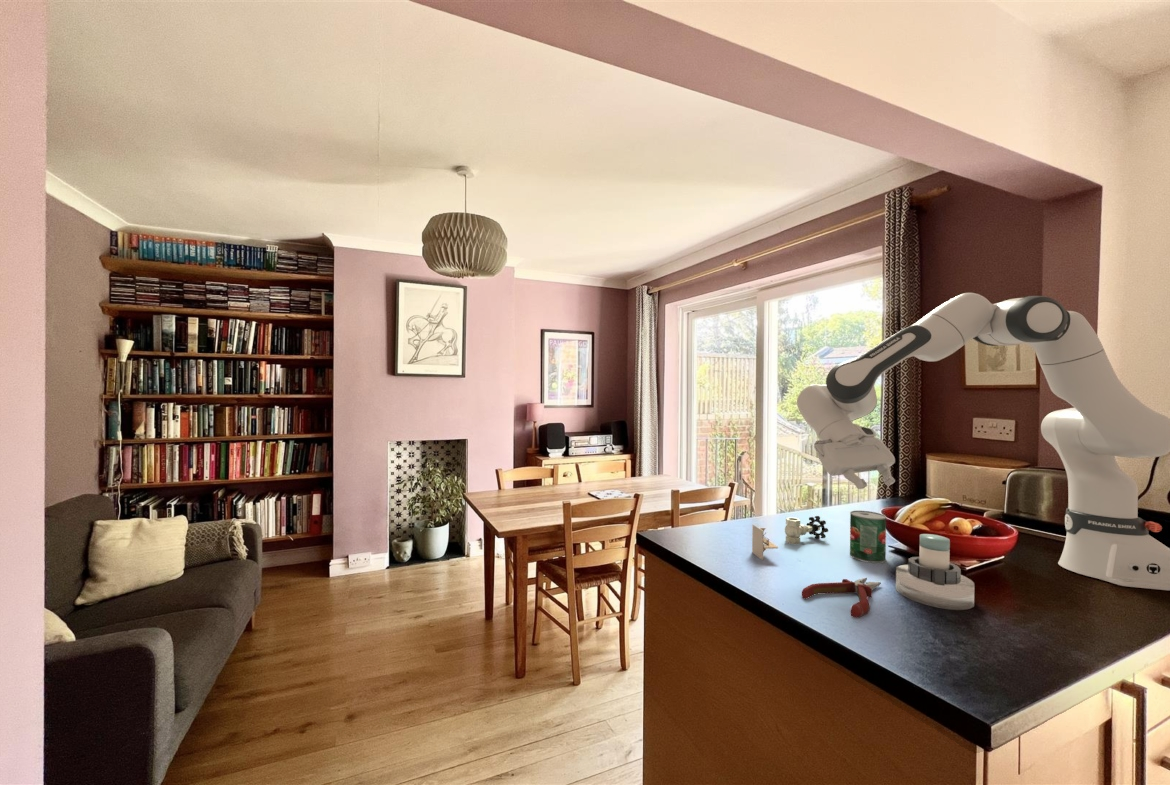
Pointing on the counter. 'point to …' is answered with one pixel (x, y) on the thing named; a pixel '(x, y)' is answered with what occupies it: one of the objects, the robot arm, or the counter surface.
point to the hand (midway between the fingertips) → (877, 485)
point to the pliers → (846, 587)
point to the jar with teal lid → (934, 551)
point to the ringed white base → (935, 585)
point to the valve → (803, 529)
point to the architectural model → (760, 542)
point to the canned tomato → (868, 536)
